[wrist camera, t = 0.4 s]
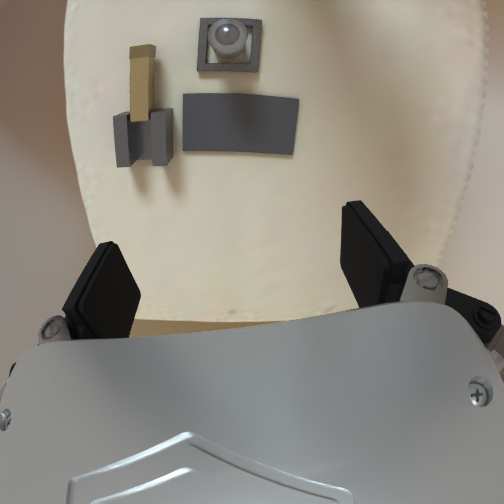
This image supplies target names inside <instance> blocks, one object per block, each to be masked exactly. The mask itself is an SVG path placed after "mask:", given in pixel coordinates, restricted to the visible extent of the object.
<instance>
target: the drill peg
mask: <svg viewBox="0 0 504 504" xmlns="http://www.w3.org/2000/svg"><path fill="white" fill-rule="evenodd" d="M247 37H248V33H247V29H246V27H245V26H244V25H243V24H242V23H241V22H239V21H238V20H235V19H222V20H219V21H217V22H215V23H214V24H213V25H212V26H211V27H210V29H209V31H208V41H209V43H210V45H211V46H212V48H213V49H214V51H215V52H216V53H217V54H218V55H219V56H221V57H223V58H234V57H236V56H238V55H240V54H241V53H242V52H243V50H244V47H245V44H246V41H247Z"/></svg>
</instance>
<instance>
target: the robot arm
mask: <svg viewBox="0 0 504 504" xmlns="http://www.w3.org/2000/svg"><path fill="white" fill-rule="evenodd" d="M340 264H341V268H342V270H343V273H344V275H345V277H346V279H347V281H348V283H349V286H350V288H351V290H352V292H353V294H354V297H355V299H356V301H357V303H358V306H359V308H357V309H351V310H346V311H341V312H336V313H331V314H325V315H320V316H314V317H308V318H302V319H296V320H290V321H284V322H277V323H271V324H264V325H257V326H249V327H241V328H233V329H225V330H216V331H207V332H198V333H187V334H176V335H163V336H149V337H132V338H129V335H130V331H131V328H132V324H133V321H134V317H135V314H136V311H137V308H138V305H139V301H140V298H141V293H140V290H139V288H138V286H137V284H136V282H135V280H134V278H133V276H132V274H131V272H130V270H129V268H128V266H127V264H126V261H125V259H124V257H123V255H122V253H121V251H120V249H119V246H118V245H117V244H114V242H112V241H109V242H105V243H100V244H99V245H98V247H97V248H96V250H95V252H94V253H93V255H92V256H91V258H90V260H89V262H88V263H87V265H86V266H85V268H84V270H83V272H82V273H81V275H80V277H79V278H78V280H77V282H76V284H75V286H74V287H73V289H72V291H71V293H70V295H69V296H68V298H67V300H66V302H65V304H64V306H63V308H62V310H63V311H64V312H65V314H66V316H65V318H63V317H62V316H60V315H56V316H53V317H51V318H49V319H48V320H47V321H46V322H45V323H44V324H43V325H42V326H41V328H40V330H39V333H38V339H39V345H37V346H36V347H33V348H31V349H30V350H28V351H27V352H25V353H24V354H22V355H21V357H20V358H19V360H18V361H17V362H16V363H15V364H13V365H12V367H11V369H10V375H9V379H8V382H7V383H6V384H5V385H4V387H3V388H2V390H1V391H0V504H504V326H503V325H502V324H501V318H500V315H499V313H498V311H497V310H496V309H495V308H494V307H493V306H492V305H490V304H488V303H486V302H483V301H481V300H478V299H476V298H473V297H471V296H468V295H466V294H463V293H460V292H458V291H455V290H453V289H450V288H447V287H448V280H447V277H446V275H445V274H444V273H443V272H442V271H441V270H439V269H438V268H437V267H434V266H432V265H427V264H420V265H416V266H414V265H413V263H412V262H411V261H410V259H409V258H408V257H407V255H406V254H405V253H404V251H403V250H402V249H401V247H400V246H399V245H398V243H397V242H396V241H395V240H394V238H393V237H392V236H391V235H390V233H389V232H388V231H387V230H386V229H385V228H384V227H383V226H382V225H381V223H380V222H379V221H378V220H377V218H376V217H375V216H374V215H373V214H372V213H371V211H370V210H369V209H368V208H367V207H366V206H365V204H364V203H363V202H362V201H361V200H359V201H350V202H347V203H346V206H343V207H342V229H341V254H340Z"/></svg>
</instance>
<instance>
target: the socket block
mask: <svg viewBox="0 0 504 504" xmlns="http://www.w3.org/2000/svg"><path fill="white" fill-rule="evenodd" d="M153 111H154V112H151V119H150V120H147V121H135V122H131V119H130V112H123V113H121V114H118V115H116V116H113V124H114V139H115V151H116V162H117V168H118V167H130V166H131V165H132V164H133V163H134V162H135V161H136V160H144V159H152V162H153V166H165V165H168V163H169V162H170V160H171V159H172V158H173V108H170V109H153Z"/></svg>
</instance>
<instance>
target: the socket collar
mask: <svg viewBox="0 0 504 504" xmlns="http://www.w3.org/2000/svg"><path fill="white" fill-rule="evenodd" d="M222 19H235V20H238V21H239V22H241V23H242V24H243V25H244V26H248V27H253V30H252V42H251V55H250V64H229V63H206V52H207V38H208V26H212V25H213V24H214V23H215V22H217V21H219V20H222ZM261 24H262V20H259V19H243V18H200V30H199V43H198V59H197V71H244V72H258V59H259V47H260V35H261Z"/></svg>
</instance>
